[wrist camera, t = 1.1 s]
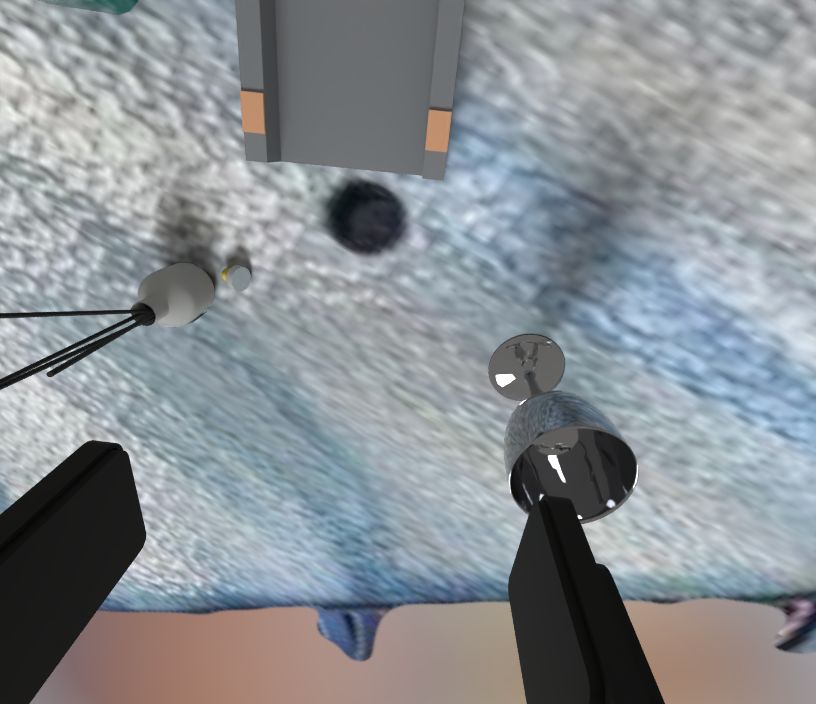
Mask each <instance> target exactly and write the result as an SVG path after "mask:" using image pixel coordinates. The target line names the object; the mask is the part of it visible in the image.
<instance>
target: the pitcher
mask: <svg viewBox="0 0 816 704" xmlns="http://www.w3.org/2000/svg"><path fill="white" fill-rule="evenodd" d="M39 1H42V2H45V3H48V4H55V5H61V6H67V7H73V8H79V9H85V10H91V11H98V12H104V13H110V14H116V15H120V14H123V13H126V12H129V11H131V10H132V8H133V7H134V6H135V5H136V3H137V2H138V0H39Z"/></svg>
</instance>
